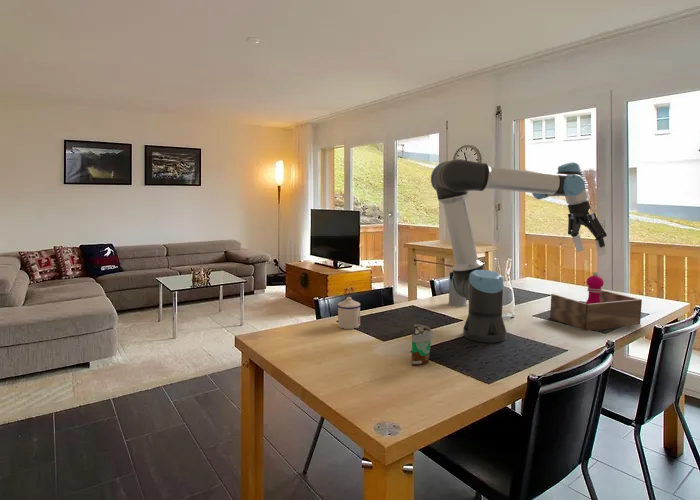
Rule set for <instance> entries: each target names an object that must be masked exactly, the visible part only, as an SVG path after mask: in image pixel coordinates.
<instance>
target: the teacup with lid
mask: <svg viewBox="0 0 700 500" xmlns="http://www.w3.org/2000/svg"><path fill="white" fill-rule="evenodd" d="M361 305H362V304H361V303H360V302H359V301H356V300H354V299H352V297H351V296H347V297H346V299H344V300H343V301H340V302H338V303H337V320H338V321H337V322H338V323H337V324H338V325H337V326H338V328H340V329H342V328H344V329H343V330H354V328H356V329H358V328H360V327H361ZM359 326H360V327H359Z"/></svg>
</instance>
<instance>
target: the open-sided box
mask: <svg viewBox="0 0 700 500" xmlns="http://www.w3.org/2000/svg"><path fill="white" fill-rule="evenodd" d="M601 291H602V292H600V301H601V303H592V304H586V302H583V301H578V300H575V299H573V298H568V297H565V296H561V295H558V294H554V293H552V294H550V295H551V296H550V309H549V310H550V313H549V314H550V316H549V318H550V319H552V320H556V321H557V322H561V323H564V324H567V325H569V326H572V327H575V328H577V329H579V330H583V331H585V332H587V331H595V330H605V329H613V328H623V327H630V326H631V327H632V326H640V325H641V319H642V304H643V300H642V299H641V298H636V297H633V296H628V295H625V294H620V293H617V292H612V291H608V290H604V289H602V290H601Z"/></svg>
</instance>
